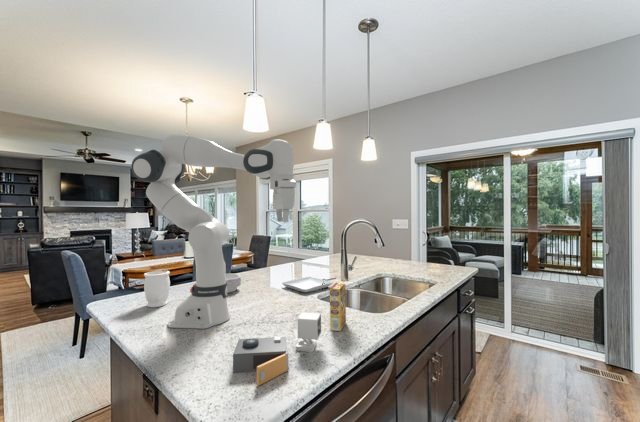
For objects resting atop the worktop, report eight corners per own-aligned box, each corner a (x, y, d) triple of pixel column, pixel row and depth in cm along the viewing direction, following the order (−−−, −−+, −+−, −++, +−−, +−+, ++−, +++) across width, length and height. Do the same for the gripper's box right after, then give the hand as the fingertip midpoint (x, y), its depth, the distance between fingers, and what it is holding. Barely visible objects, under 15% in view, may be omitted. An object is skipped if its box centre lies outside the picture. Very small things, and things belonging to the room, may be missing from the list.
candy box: (340, 331, 103) (340, 288, 103) (329, 330, 104) (329, 288, 104) (346, 322, 111) (346, 282, 111) (335, 321, 112) (335, 282, 112)
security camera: (317, 353, 87) (317, 320, 87) (295, 351, 89) (294, 318, 89) (321, 343, 94) (321, 312, 94) (300, 341, 95) (300, 311, 95)
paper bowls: (236, 294, 149) (236, 279, 149) (206, 294, 149) (206, 279, 149) (244, 287, 164) (244, 273, 164) (217, 287, 164) (217, 273, 164)
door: (259, 387, 71) (259, 368, 71) (256, 384, 72) (256, 366, 72) (290, 371, 78) (290, 353, 78) (286, 368, 79) (286, 352, 79)
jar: (138, 306, 131) (138, 273, 131) (159, 300, 141) (158, 269, 141) (155, 309, 127) (155, 275, 127) (175, 302, 137) (174, 271, 137)
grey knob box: (233, 372, 77) (232, 350, 77) (239, 355, 86) (238, 336, 86) (285, 369, 79) (285, 347, 79) (286, 353, 88) (286, 333, 88)
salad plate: (280, 288, 163) (280, 281, 163) (309, 281, 177) (309, 275, 177) (304, 296, 147) (304, 289, 147) (334, 288, 162) (334, 282, 162)
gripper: (268, 186, 115) (269, 221, 115) (279, 181, 96) (279, 223, 96) (284, 186, 117) (284, 221, 117) (297, 181, 98) (297, 222, 98)
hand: (282, 222), depth 106 cm, fingers open, 8 cm apart
